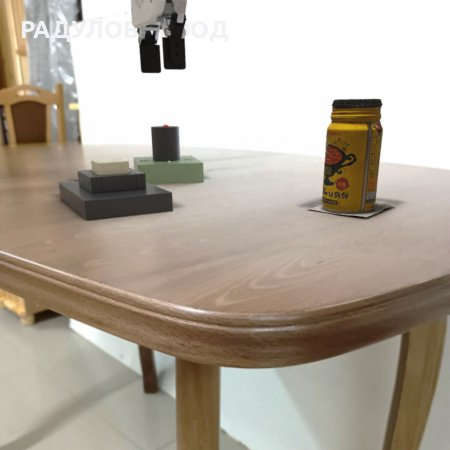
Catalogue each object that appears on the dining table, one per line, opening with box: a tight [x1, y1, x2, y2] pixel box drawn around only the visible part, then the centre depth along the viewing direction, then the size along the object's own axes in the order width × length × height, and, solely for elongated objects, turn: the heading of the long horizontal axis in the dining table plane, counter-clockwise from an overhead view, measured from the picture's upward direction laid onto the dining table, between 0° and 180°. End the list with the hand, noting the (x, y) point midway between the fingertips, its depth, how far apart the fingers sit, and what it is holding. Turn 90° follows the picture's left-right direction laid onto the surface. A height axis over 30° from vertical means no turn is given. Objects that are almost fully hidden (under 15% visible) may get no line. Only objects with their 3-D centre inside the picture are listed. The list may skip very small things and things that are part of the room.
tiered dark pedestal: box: [58, 167, 174, 222], centre depth 59 cm, size 14×10×4 cm
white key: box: [90, 157, 130, 176], centre depth 58 cm, size 4×4×2 cm
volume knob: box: [150, 124, 181, 161], centre depth 78 cm, size 4×4×5 cm
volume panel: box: [132, 154, 205, 185], centre depth 79 cm, size 11×10×3 cm
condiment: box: [309, 98, 395, 218], centre depth 55 cm, size 7×8×12 cm
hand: (162, 71), depth 73 cm, fingers open, 9 cm apart
